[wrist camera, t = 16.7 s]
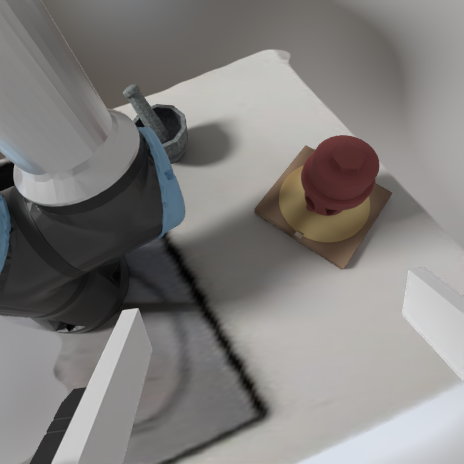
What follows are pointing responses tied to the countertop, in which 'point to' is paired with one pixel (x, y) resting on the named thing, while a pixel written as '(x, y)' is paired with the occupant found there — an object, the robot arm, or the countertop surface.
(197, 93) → the countertop surface
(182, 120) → the mortar and pestle
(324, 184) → the mechanical component
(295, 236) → the marked board
